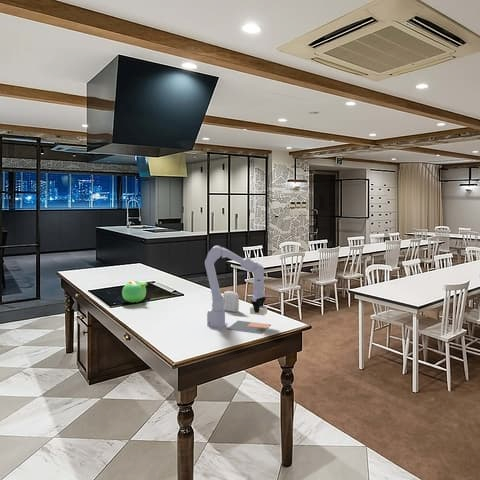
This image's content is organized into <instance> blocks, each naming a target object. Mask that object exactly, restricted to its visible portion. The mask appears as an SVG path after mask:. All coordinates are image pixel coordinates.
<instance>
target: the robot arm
mask: <svg viewBox="0 0 480 480" xmlns="http://www.w3.org/2000/svg"><path fill="white" fill-rule="evenodd" d="M220 258H222V259H224V258H228V259H230V260H231V261H234V262H236V263H238V264H240V267H241V268H242V269H244V270H246V271H247V272H250V273H253V275H254V276H253V290H252V291H253V293H252V297H251V299H250V303H251V304H252V306H253V307H254V311H255V313H259V308H260V306H263V307H264V305H265V304H264V303H266V300H267V294H265V279H264V278H265V268H264V266H263V265H262V264H260V263H258V262H255V261H254V260H251V258H250V257H244V258H243V257H241V256H239V255H238V254H236V253H235V252H233V251H231V250H230V249H227V248H226V247H223V246H220V245H219V244H218V245H214V246H213V247H212V248H210V250H209V251H208V252H207V255H206V257H205V260H204V266H205V271H206V275H207V280H208V283H209V288H210V293H211V299H212V300H211V301H212V304H211V308H209V309H208V310H207V313H206V315H207V316H206V318H207V319H206V321H207V322H206V327H214V328H220V329H222V328H224V327H225V326H227V325H228V323H227V322H226V310H225V308H224V303H225V300H224V298H223V294H222V292H221V289H220V284H219V280H218V277H217V273H216V267H215V263H216V262H217V260H218V259H220Z"/></svg>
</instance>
